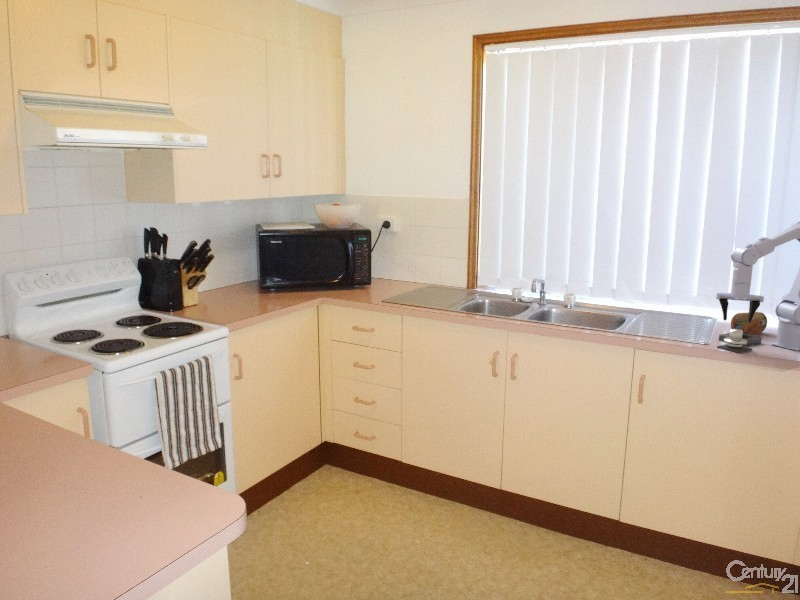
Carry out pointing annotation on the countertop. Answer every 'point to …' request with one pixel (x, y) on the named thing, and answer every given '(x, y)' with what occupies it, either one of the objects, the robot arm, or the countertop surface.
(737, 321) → the orange patterned rounded block
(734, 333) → the door knob
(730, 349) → the mat
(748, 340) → the frame
